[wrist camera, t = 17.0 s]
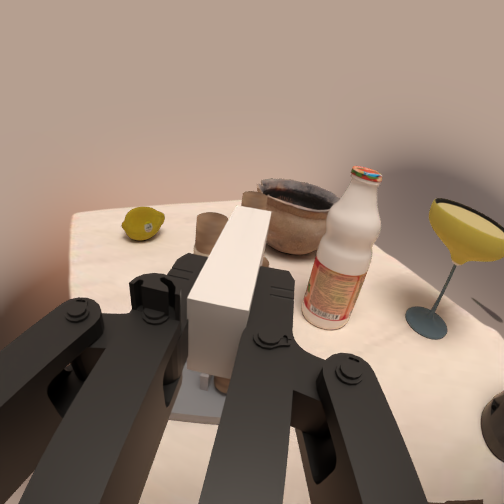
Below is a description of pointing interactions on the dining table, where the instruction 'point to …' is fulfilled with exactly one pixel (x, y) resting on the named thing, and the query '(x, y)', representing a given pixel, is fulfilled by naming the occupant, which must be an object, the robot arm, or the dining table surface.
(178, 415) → the board
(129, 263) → the dining table surface
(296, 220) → the ceramic bowl
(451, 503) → the coffee box
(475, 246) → the cocktail glass
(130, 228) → the lemon
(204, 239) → the banded post middle
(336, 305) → the fruit juice
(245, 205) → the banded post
